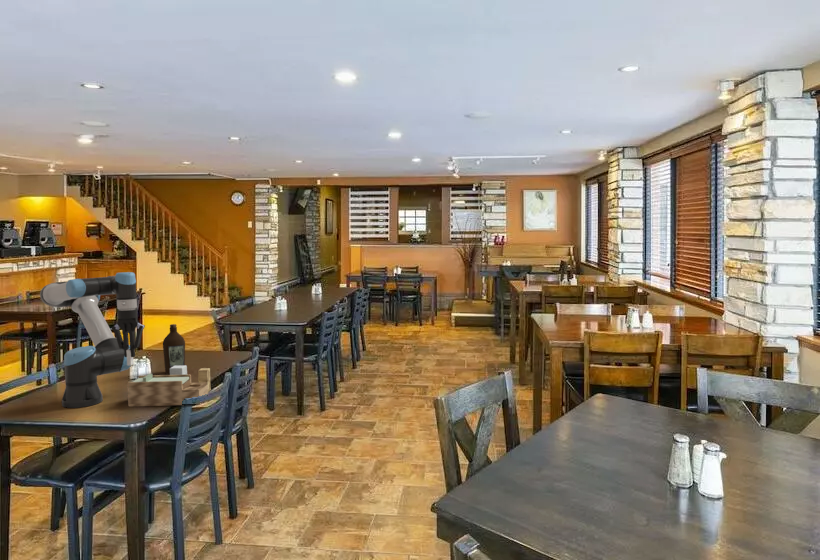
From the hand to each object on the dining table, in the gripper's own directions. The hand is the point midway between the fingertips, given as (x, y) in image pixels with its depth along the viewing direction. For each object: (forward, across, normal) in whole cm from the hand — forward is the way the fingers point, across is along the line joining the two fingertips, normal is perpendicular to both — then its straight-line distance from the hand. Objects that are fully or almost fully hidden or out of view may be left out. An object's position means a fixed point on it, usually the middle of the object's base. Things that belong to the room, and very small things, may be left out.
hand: (130, 364), depth 247 cm
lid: (+8, +12, 0) cm, 14 cm away
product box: (+16, +8, +34) cm, 39 cm away
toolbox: (+16, +15, 0) cm, 22 cm away
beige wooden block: (+16, +26, +15) cm, 34 cm away
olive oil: (+16, 0, +52) cm, 55 cm away
